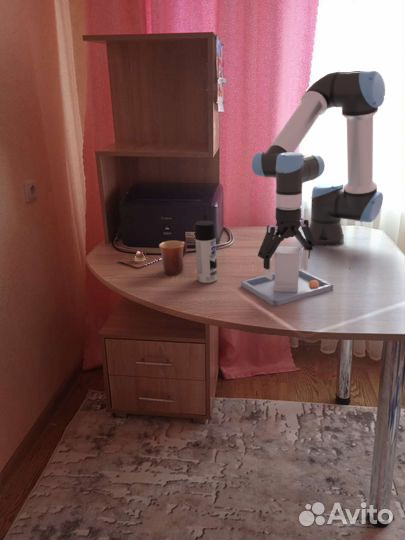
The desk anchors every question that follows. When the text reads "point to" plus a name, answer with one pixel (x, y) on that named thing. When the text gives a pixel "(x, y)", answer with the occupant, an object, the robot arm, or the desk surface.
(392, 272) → the desk surface
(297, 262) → the supplement box
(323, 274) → the desk surface
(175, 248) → the mug
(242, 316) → the desk surface
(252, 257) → the desk surface
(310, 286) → the ball
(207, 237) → the spray can
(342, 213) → the robot arm
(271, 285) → the tray
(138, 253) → the dessert
